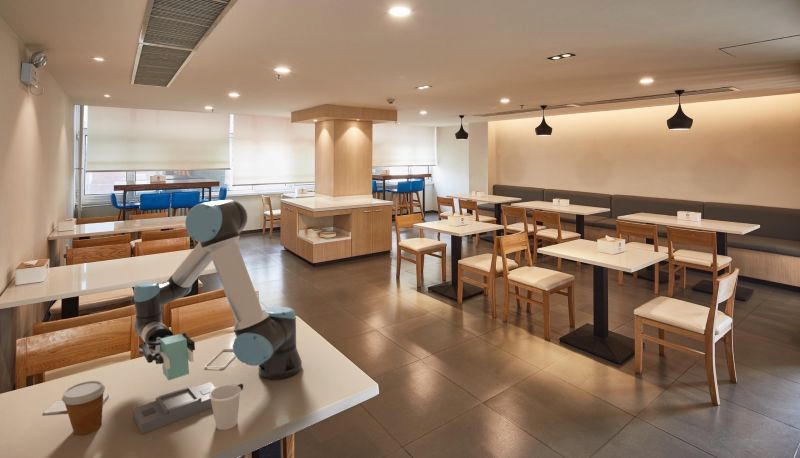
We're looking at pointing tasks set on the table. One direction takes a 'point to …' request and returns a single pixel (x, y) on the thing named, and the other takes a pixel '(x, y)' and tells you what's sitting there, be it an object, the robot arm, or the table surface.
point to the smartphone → (63, 407)
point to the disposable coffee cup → (85, 406)
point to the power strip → (173, 407)
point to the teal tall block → (175, 356)
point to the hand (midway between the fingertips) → (180, 360)
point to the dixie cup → (225, 405)
